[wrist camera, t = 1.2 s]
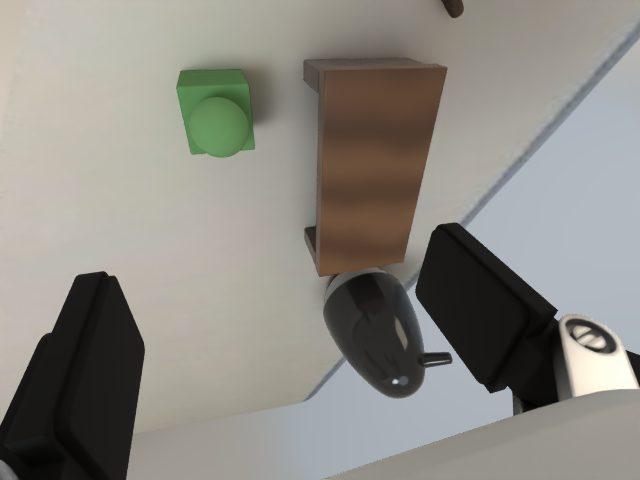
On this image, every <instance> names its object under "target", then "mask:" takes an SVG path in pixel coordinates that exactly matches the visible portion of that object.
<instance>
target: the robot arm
mask: <svg viewBox="0 0 640 480" xmlns="http://www.w3.org/2000/svg"><path fill="white" fill-rule="evenodd" d="M415 290H416V291H415V293H416V296H417V299H418V300H419V301H420V303H421V304H422V306H423V307H424V308H425V310H426V311H427V313H428V314H429V315H430V316H431V318H432V320H433V321H434V322H435V324H436V325H437V326H438V328H439V329H440V331H441V332H442V333H443V335H444V336H445V337H446V339H447V340H448V342H449V343H450V344H451V346H452V347H453V349H454V350H455V351H456V353H457V354H458V355H459V357H460V358H461V360H462V361H463V362H464V364H465V365H466V366H467V368H468V369H469V370H470V372H471V373H472V375H473V376H474V377H475V379H476V380H477V381H478V382H479V383H480V384H484V386H485V387H486V389H487V390H488V391H489V393H494V392H497V391H501V390H504V389H506V387H507V386H508V387H509V388H510V389H511V391H512V393H513V416H512V417H509V418H506V419H503V420H500V421H497V422H494V423H491V424H488V425H485V426H482V427H479V428H476V429H473V430H469V431H466V432H463V433H460V434H457V435H454V436H451V437H448V438H445V439H442V440H439V441H436V442H433V443H431V444H427V445H424V446H421V447H418V448H415V449H412V450H409V451H406V452H403V453H400V454H397V455H394V456H391V457H388V458H385V459H382V460H379V461H376V462H373V463H370V464H367V465H364V466H361V467H358V468H355V469H352V470H349V471H346V472H343V473H340V474H337V475H334V476H331V477H328V478H325V479H322V480H640V355H638V354H635V353H632V352H629V351H627V350H625V348H624V346H623V344H622V342H621V341H620V339H619V337H618V336H617V335H616V334H615V333H614V332H613V331H612V330H610V329H609V328H608V327H606V326H605V325H603V324H601V323H600V322H598V321H596V320H594V319H591V318H589V317H586V316H582V315H577V314H568V315H565V316H562V318H561V319H560V320H559V321H557V320H556V319H555V318H554V316H555V314H556V313H557V311H558V310H557V309H556V308H555V307H553V306H552V305H551V304H550V303H549V302H548V301H547V300H546V299H544V298H543V297H542V296H541V295H540V294H539V293H538V292H536V291H535V290H534V289H533V288H532V287H531V286H529V285H528V284H527V283H526V282H525V281H524V280H523V279H522V278H520V277H519V276H518V275H517V274H516V273H515V272H514V271H512V270H511V269H510V268H509V267H508V266H507V265H505V264H504V263H503V262H502V261H501V260H500V259H499V258H497V257H496V256H495V255H494V254H493V253H492V252H491V251H489V250H488V249H487V248H486V247H485V246H484V245H483V244H481V243H480V242H479V241H478V240H477V239H476V238H475V237H473V236H472V235H471V234H470V233H469V232H468V231H466V230H465V229H464V228H463V227H462V226H461V225H460V224H458V223H447V224H440V225H438V226H437V227H436V229H435V230H434V231H433V232H432V234H431V237H430V241H429V244H428V247H427V251H426V254H425V258H424V261H423V265H422V268H421V271H420V275H419V278H418V282H417V285H416V289H415ZM144 354H145V347H144V342H143V339H142V337H141V334H140V332H139V330H138V327H137V325H136V323H135V320H134V318H133V315H132V313H131V311H130V308H129V306H128V304H127V301H126V299H125V296H124V294H123V292H122V289H121V287H120V285H119V282H118V280H117V278H116V277H115V276H108V274H107V273H106V272H104V271H102V272H95V273H87V274H80V275H78V276H76V278H75V280H74V282H73V285H72V287H71V289H70V291H69V294H68V296H67V298H66V301H65V303H64V305H63V308H62V310H61V312H60V314H59V317H58V319H57V321H56V324H55V326H54V328H53V331H52V333H47V334H45V335H44V336H43V337H42V338H41V340H40V341H39V343H38V345H37V347H36V349H35V351H34V354H33V356H32V358H31V360H30V362H29V365H28V367H27V369H26V371H25V373H24V375H23V378H22V380H21V382H20V384H19V386H18V388H17V391H16V393H15V395H14V397H13V399H12V401H11V404H10V406H9V408H8V410H7V412H6V415H5V417H4V419H3V421H2V423H1V425H0V480H126V476H127V469H128V462H129V455H130V449H131V442H132V435H133V429H134V422H135V415H136V408H137V402H138V395H139V388H140V382H141V375H142V368H143V361H144Z"/></svg>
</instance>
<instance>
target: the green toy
mask: <svg viewBox="0 0 640 480" xmlns="http://www.w3.org/2000/svg"><path fill="white" fill-rule="evenodd" d="M176 89H177V93H178V98H179V102H180V107H181V111H182V116H183V120H184V125H185V129H186V134H187V138H188V143H189V147H190V152H191V154H205V153H207V154H209V155H211V156H215V157H229V156H232V155H234V154H236V153H237V152H239V151H241V150H253V149H255V144H254V134H253V124H252V113H251V103H250V93H249V85H248V83H247V81H246V78H245V76H244V74H243V72H242V70H204V71H181V72H180V75H179V79H178V83H177V87H176Z"/></svg>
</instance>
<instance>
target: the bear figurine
mask: <svg viewBox="0 0 640 480" xmlns="http://www.w3.org/2000/svg"><path fill="white" fill-rule="evenodd" d="M441 1H442V2H443V4H444V6H445V8H446V10H447V12H448V13H449V15H450V16H451V17H452V18H457V17H459V16H460V15H461V14H462V13H463V10H464V6H463V2H462V0H441Z"/></svg>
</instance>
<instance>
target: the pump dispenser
mask: <svg viewBox="0 0 640 480" xmlns="http://www.w3.org/2000/svg"><path fill="white" fill-rule="evenodd" d="M323 316H324V320H325V323H326V326H327V328H328V330H329V332H330V334H331V336H332V338H333V339H334V341H335V343H336V345H337V346H338V348H339V349H340V351H341V352H342V354H343V355H344V357H345V358H346V359H347V361H348V362H349V363H350V364H351V366H352V367H353V368H354V369H355V370H356V371H357V372H358V373H359V374H360V375H361V376H362V377H363V378H364V379H365V380H366V381H367V382H368V383H369V384H370V385H371V386H372V387H374V388H375V389H376V390H377V391H379V392H380V393H382V394H384V395H385V396H388V397H391V398H406V397H409V396H411V395H412V394H414V393H415V392H416V391H417V390H418V389H419V388H420V387H421V385H422V383H423V380H424V376H425V368H428V367H434V366H440V365H446V364H451V363H452V356H451V354H450V353H449V352H434V353H425V352H424V344H423V339H422V334H421V330H420V326H419V323H418V319H417V316H416V314H415V311H414V309H413V306H412V304H411V302H410V300H409V297H408V295H407V293H406V291H405V289H404V288H403V286H402V285H401V283H400V282H399V281H398V279H397V278H395V277H394V276H392V275H390V274H388V273H387V272H385V271H383V270H381V269H379V268H377V267H373V268H368V269H362V270H356V271H351V272H345V273H340V274H339V275H338V276H337V277H336V278H335V279H334V280H333V281H332V282H331V284H330V285H329V287H328V289H327V292H326V295H325V301H324V310H323Z"/></svg>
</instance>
